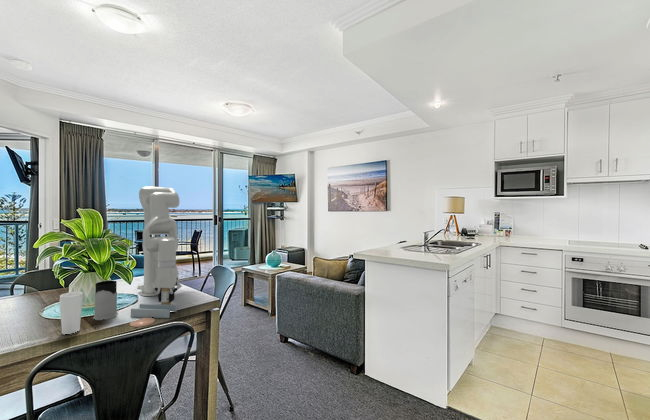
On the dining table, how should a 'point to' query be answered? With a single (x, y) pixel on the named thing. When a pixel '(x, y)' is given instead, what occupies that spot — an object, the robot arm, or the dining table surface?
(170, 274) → the robot arm
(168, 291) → the sprinkles bottle
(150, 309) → the acrylic walls
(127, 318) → the dining table surface
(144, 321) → the resting disc
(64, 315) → the drinking glass
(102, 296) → the glass holder
